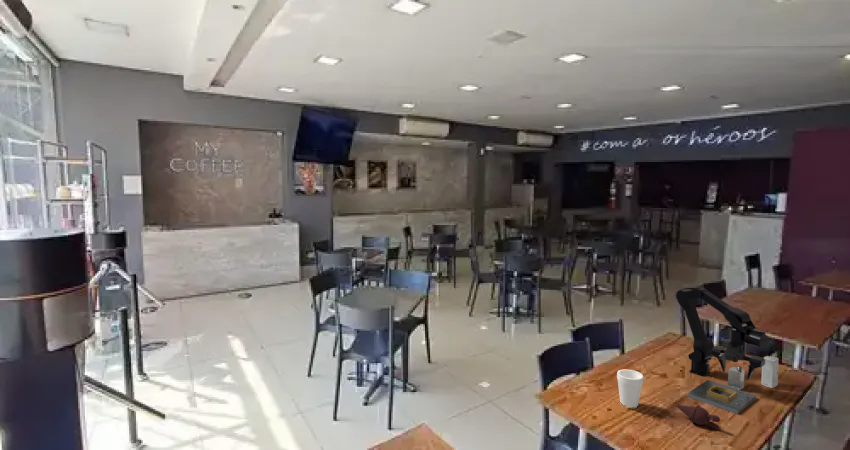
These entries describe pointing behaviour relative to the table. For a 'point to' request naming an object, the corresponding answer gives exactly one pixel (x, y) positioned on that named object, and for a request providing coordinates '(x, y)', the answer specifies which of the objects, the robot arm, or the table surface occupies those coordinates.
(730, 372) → the brushed metal block
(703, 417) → the icecream
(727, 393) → the grey peg insertion board
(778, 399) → the table surface
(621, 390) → the foam cup
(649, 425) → the table surface
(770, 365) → the skincare box
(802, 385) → the table surface
